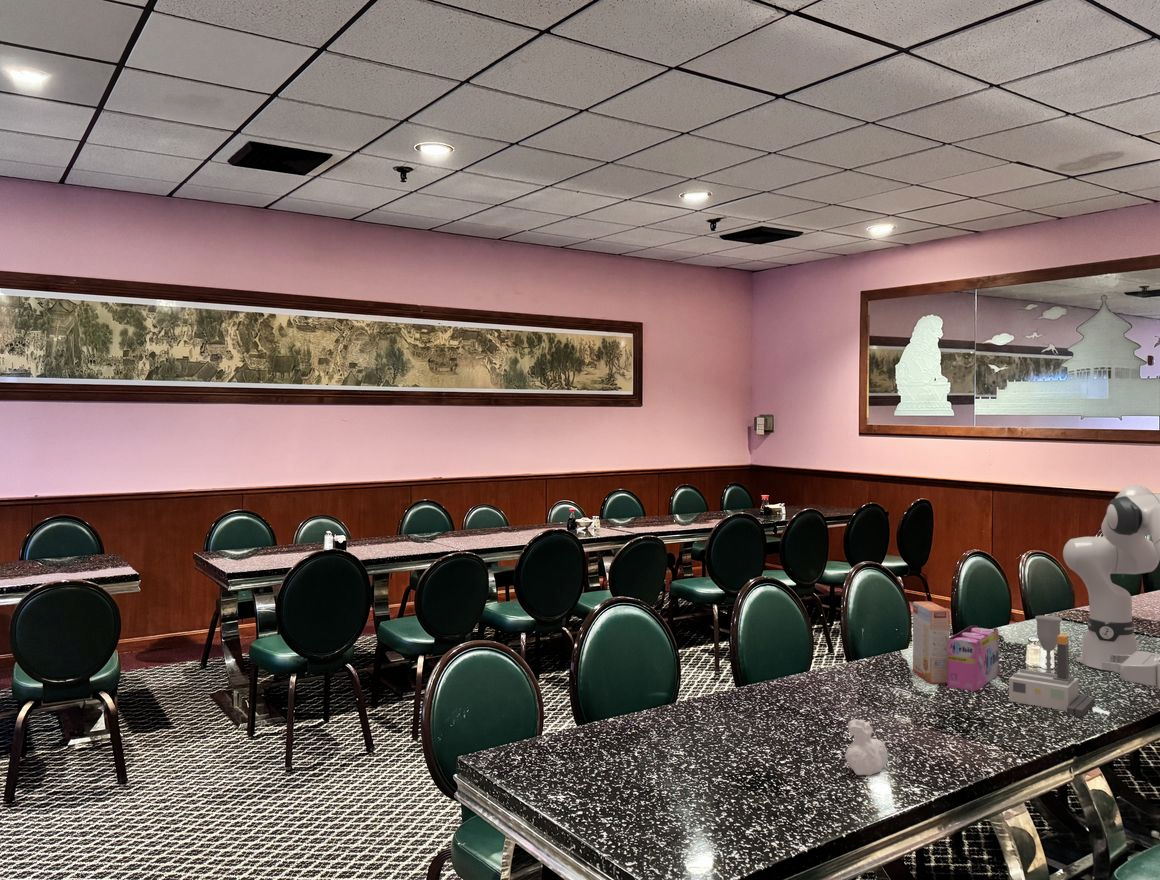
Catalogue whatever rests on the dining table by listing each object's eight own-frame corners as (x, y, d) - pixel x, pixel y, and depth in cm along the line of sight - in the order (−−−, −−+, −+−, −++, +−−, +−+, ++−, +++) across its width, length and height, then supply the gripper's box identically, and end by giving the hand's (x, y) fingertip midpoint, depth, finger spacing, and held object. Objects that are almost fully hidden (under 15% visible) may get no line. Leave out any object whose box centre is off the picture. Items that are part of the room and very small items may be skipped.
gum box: (972, 669, 273) (972, 624, 273) (1001, 674, 268) (1001, 627, 268) (946, 687, 255) (946, 638, 254) (976, 692, 249) (976, 642, 249)
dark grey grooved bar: (1081, 699, 241) (1081, 693, 241) (1096, 702, 239) (1096, 696, 239) (1067, 713, 229) (1067, 707, 229) (1082, 716, 227) (1082, 710, 227)
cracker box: (950, 684, 257) (950, 609, 257) (929, 684, 257) (929, 609, 257) (932, 671, 271) (932, 600, 271) (912, 671, 271) (912, 600, 271)
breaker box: (1020, 692, 249) (1020, 667, 249) (1078, 701, 240) (1078, 675, 240) (1008, 701, 240) (1008, 675, 240) (1067, 711, 231) (1067, 684, 231)
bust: (881, 773, 195) (854, 724, 201) (905, 760, 191) (877, 709, 196) (845, 786, 188) (818, 734, 194) (870, 772, 183) (842, 719, 189)
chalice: (1059, 686, 254) (1059, 621, 254) (1032, 682, 259) (1032, 618, 259) (1064, 680, 260) (1064, 617, 260) (1038, 676, 264) (1037, 614, 264)
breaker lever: (1057, 678, 240) (1057, 633, 240) (1072, 680, 238) (1072, 635, 238) (1053, 681, 237) (1053, 636, 237) (1068, 684, 234) (1068, 638, 234)
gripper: (1178, 649, 229) (1115, 641, 238) (1164, 664, 214) (1097, 655, 223) (1178, 674, 229) (1115, 666, 238) (1164, 691, 214) (1097, 681, 223)
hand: (1106, 661), depth 230 cm, fingers open, 8 cm apart
